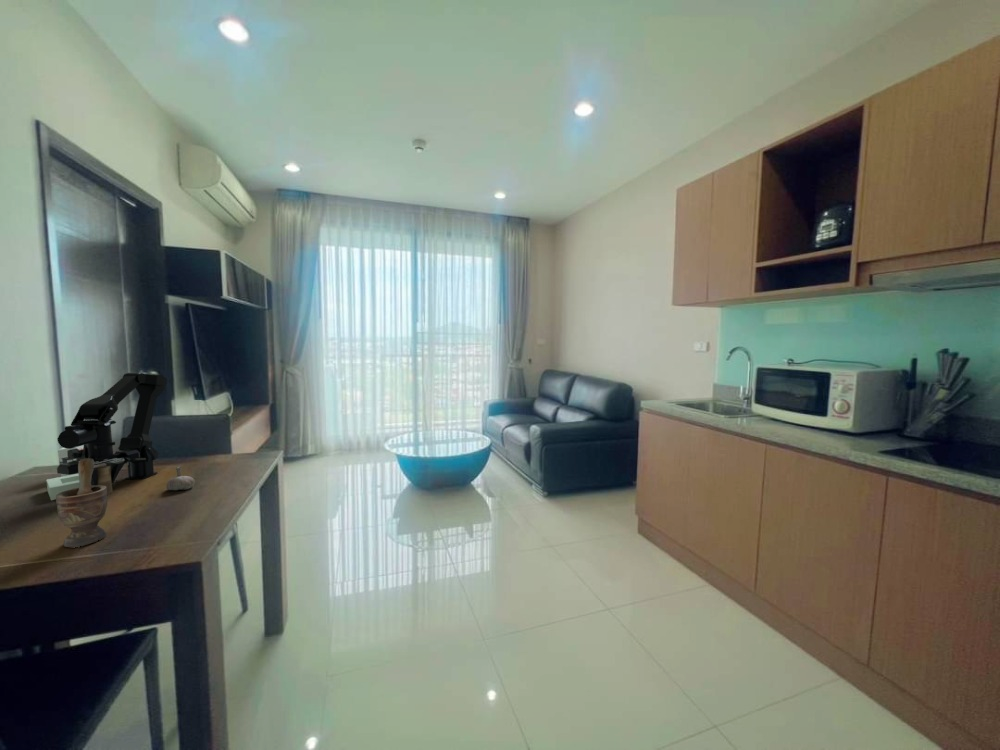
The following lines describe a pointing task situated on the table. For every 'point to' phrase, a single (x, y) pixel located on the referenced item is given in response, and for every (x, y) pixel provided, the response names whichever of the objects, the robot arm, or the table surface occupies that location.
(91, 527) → the mortar and pestle
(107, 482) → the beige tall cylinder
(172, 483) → the garlic bulb
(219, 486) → the table surface
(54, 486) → the socket block
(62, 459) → the ink box
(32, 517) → the table surface
